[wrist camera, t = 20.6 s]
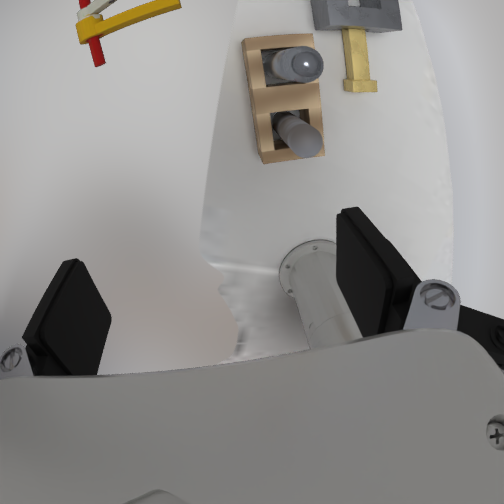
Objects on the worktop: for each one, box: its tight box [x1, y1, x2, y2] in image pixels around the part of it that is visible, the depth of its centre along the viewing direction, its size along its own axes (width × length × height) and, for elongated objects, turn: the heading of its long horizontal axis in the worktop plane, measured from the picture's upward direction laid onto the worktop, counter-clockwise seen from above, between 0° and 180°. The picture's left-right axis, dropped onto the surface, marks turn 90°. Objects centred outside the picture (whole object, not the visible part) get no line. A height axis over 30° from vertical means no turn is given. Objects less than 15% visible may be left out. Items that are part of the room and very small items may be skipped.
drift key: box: [342, 28, 377, 92], centre depth 33 cm, size 12×4×3 cm, turn 8°
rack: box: [241, 34, 325, 164], centre depth 32 cm, size 16×8×12 cm, turn 8°
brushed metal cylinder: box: [262, 46, 323, 83], centre depth 29 cm, size 4×4×15 cm
